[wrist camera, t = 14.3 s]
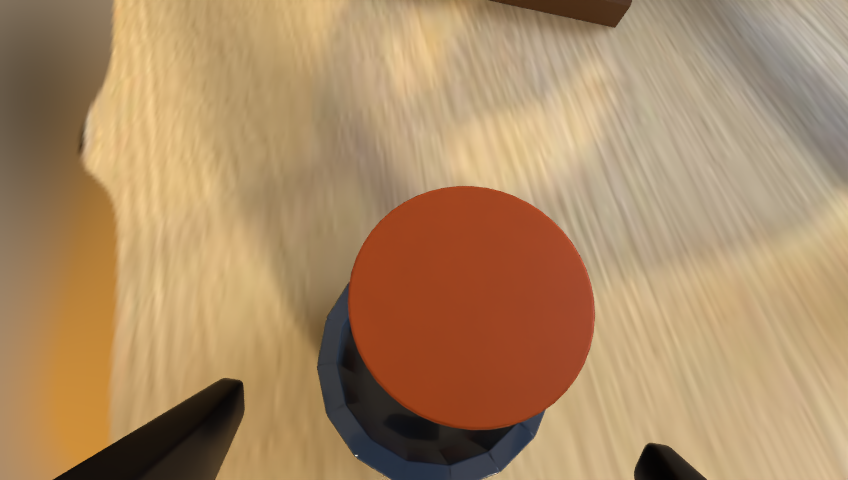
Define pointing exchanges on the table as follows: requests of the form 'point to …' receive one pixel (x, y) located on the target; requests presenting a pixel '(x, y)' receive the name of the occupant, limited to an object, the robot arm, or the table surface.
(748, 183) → the table surface
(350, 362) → the pen cup
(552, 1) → the pan flute
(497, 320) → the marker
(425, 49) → the table surface
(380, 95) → the table surface
